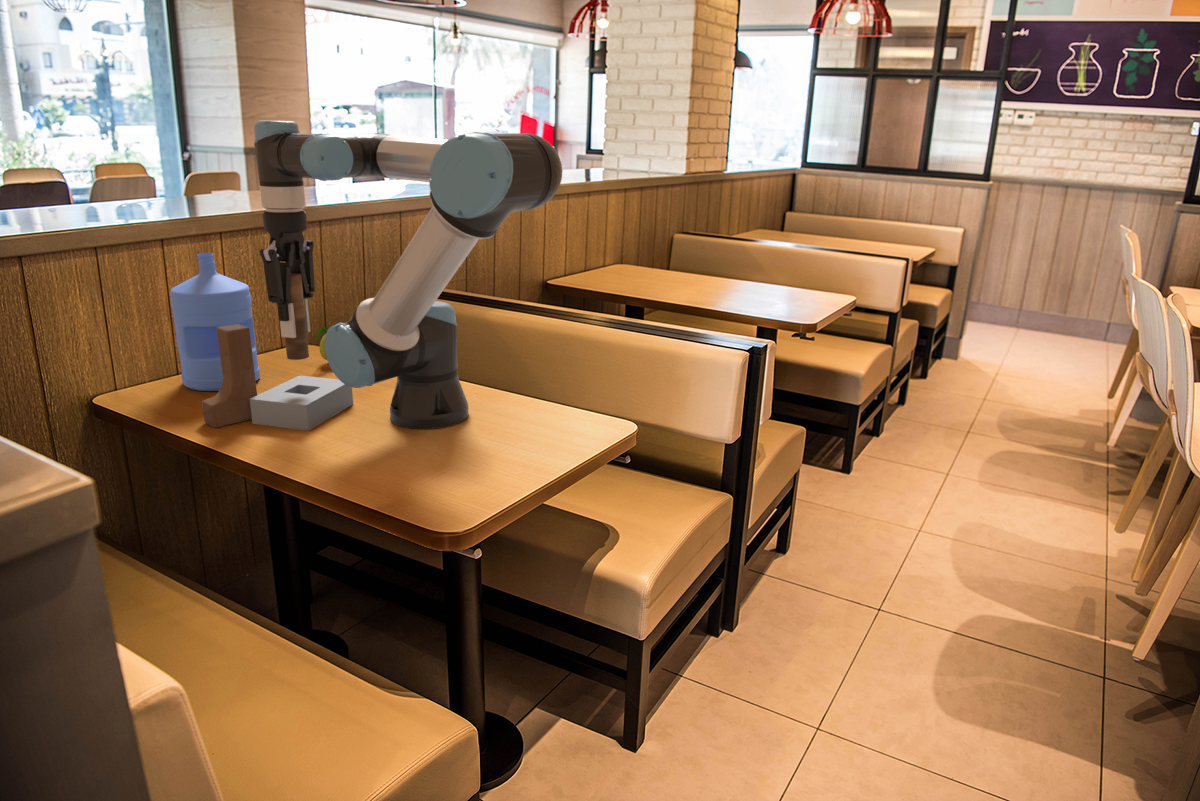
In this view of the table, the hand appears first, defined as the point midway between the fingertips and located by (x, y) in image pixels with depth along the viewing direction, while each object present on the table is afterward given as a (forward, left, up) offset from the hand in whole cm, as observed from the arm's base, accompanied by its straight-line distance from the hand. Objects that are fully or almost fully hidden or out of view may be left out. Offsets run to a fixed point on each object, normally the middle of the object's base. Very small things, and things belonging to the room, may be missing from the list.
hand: (296, 333), depth 158 cm
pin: (0, 0, -5) cm, 5 cm away
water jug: (+29, -13, -16) cm, 36 cm away
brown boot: (+11, +8, -16) cm, 21 cm away
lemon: (+14, -33, -16) cm, 39 cm away
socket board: (0, 0, -16) cm, 16 cm away
